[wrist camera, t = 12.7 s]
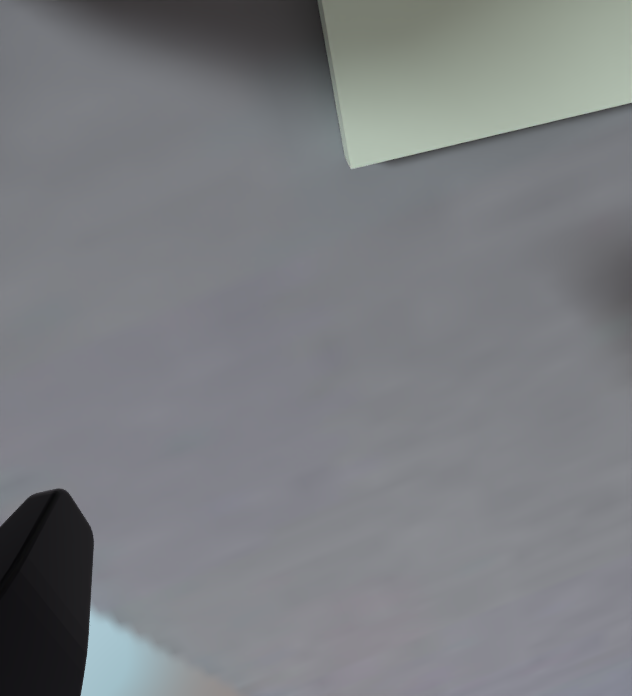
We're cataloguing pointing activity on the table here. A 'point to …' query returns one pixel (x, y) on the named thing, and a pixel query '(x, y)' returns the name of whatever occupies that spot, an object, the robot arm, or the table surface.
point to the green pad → (469, 68)
